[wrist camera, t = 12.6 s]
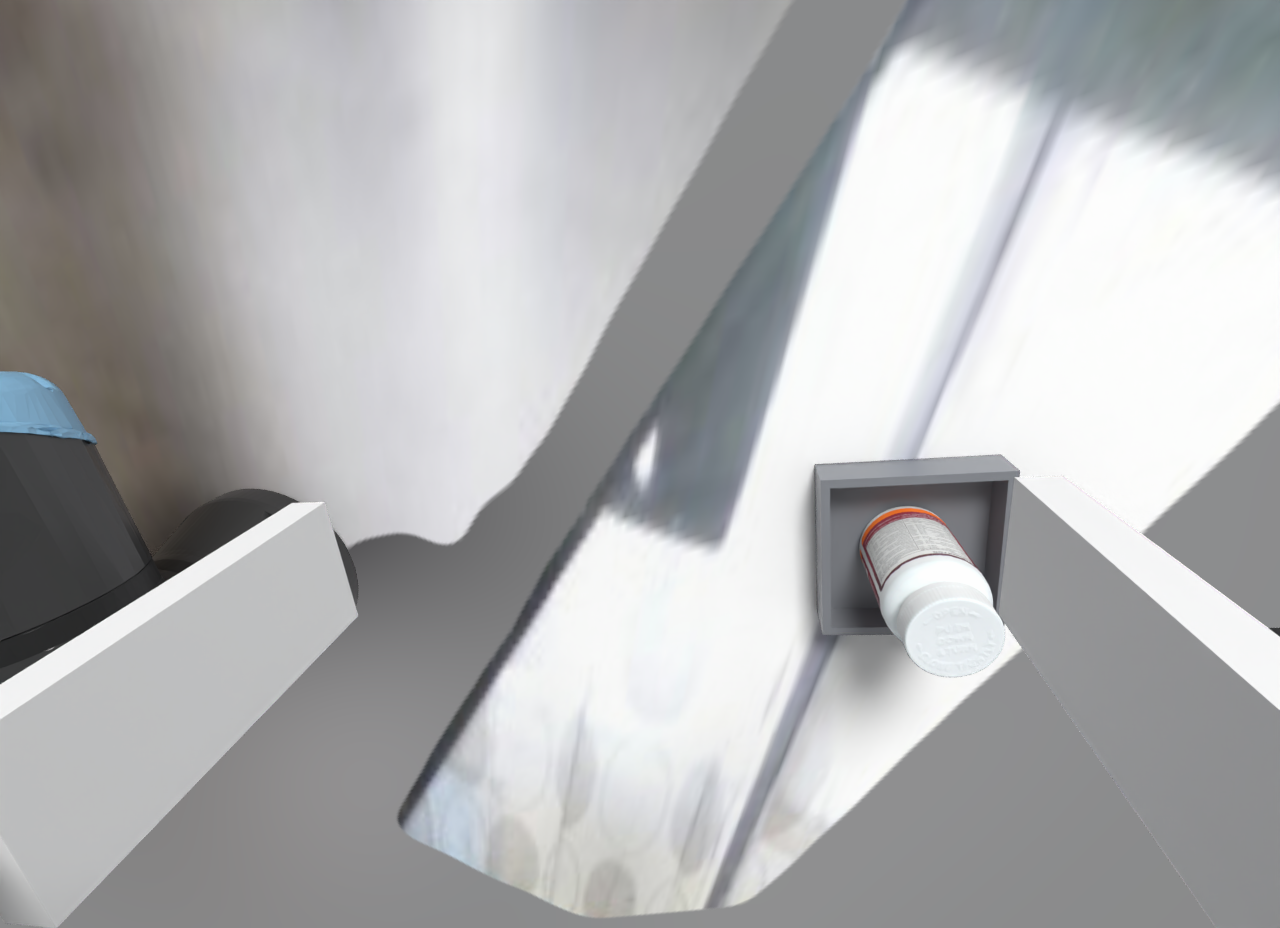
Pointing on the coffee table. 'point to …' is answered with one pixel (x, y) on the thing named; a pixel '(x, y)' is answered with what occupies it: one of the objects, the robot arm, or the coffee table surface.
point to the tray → (859, 491)
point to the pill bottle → (931, 592)
